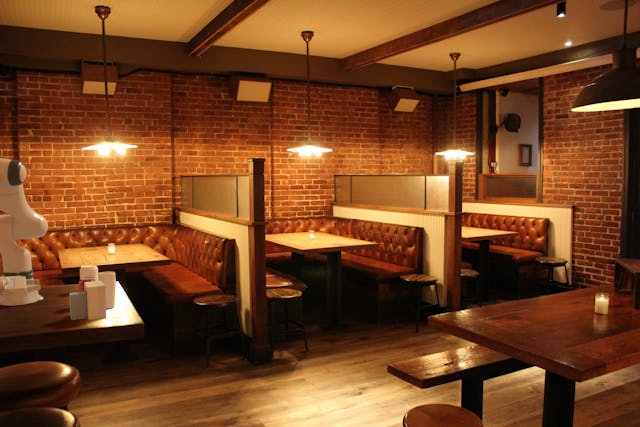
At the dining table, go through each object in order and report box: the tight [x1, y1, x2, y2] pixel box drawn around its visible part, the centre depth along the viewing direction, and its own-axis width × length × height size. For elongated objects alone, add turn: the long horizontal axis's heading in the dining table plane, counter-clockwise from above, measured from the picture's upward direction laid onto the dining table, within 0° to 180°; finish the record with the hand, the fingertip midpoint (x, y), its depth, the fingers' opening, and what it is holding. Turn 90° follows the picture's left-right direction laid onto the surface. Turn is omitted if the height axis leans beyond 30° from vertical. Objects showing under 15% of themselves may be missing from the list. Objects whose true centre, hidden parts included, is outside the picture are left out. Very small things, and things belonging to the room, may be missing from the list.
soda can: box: [78, 277, 95, 292], centre depth 237 cm, size 7×7×12 cm
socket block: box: [84, 280, 107, 321], centre depth 221 cm, size 11×6×13 cm, turn 29°
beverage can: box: [79, 264, 99, 281], centre depth 266 cm, size 8×8×12 cm
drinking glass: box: [98, 271, 117, 310], centre depth 233 cm, size 7×7×15 cm
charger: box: [69, 291, 88, 321], centre depth 219 cm, size 4×9×10 cm, turn 119°
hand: (40, 284), depth 213 cm, fingers open, 8 cm apart
